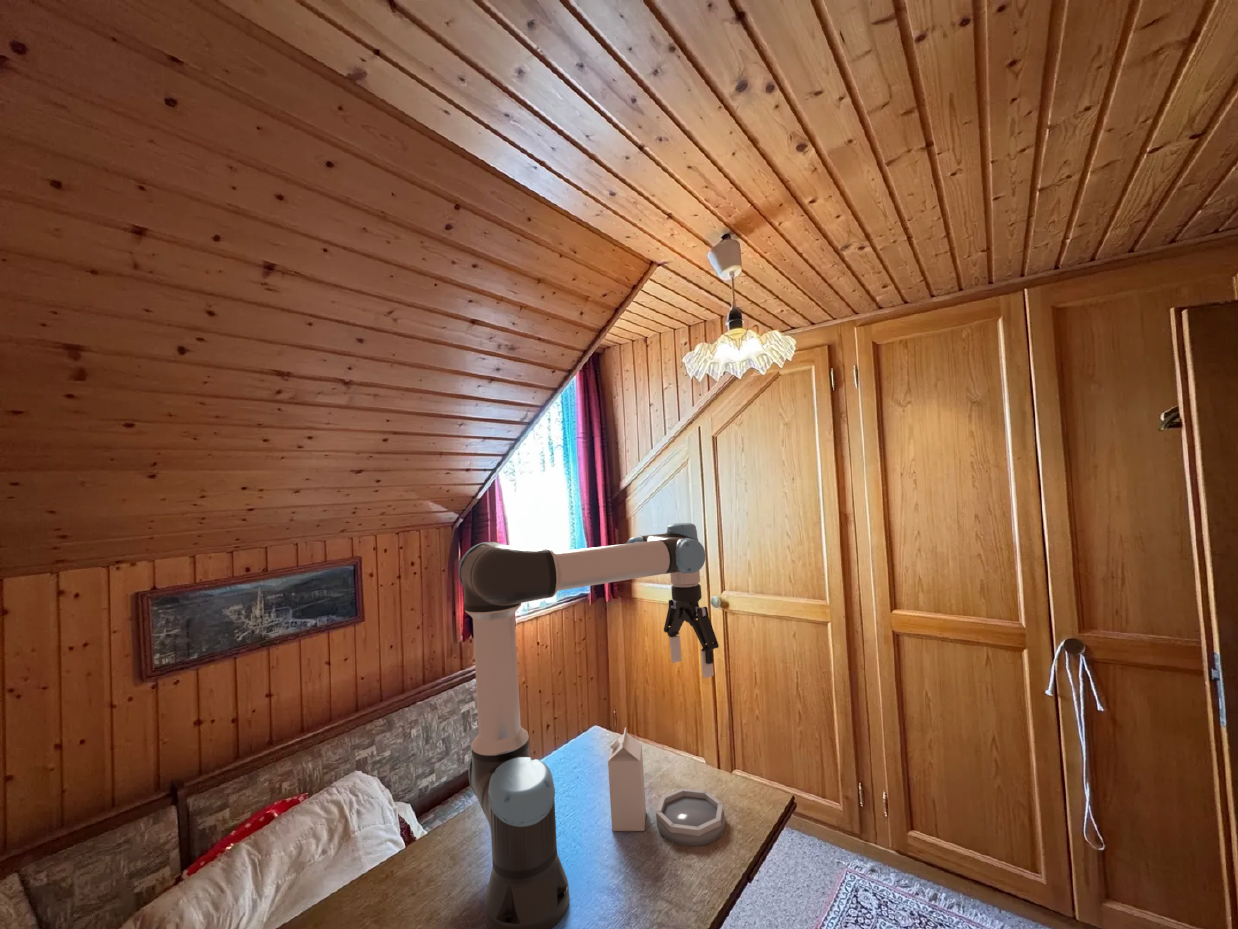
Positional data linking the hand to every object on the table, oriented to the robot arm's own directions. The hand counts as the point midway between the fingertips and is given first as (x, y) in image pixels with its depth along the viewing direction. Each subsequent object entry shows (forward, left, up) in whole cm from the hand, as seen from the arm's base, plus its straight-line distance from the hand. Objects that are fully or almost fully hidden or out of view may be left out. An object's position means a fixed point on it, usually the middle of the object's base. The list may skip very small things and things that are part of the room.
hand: (691, 668), depth 129 cm
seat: (-11, -11, -28) cm, 32 cm away
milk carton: (-22, -3, -28) cm, 36 cm away
